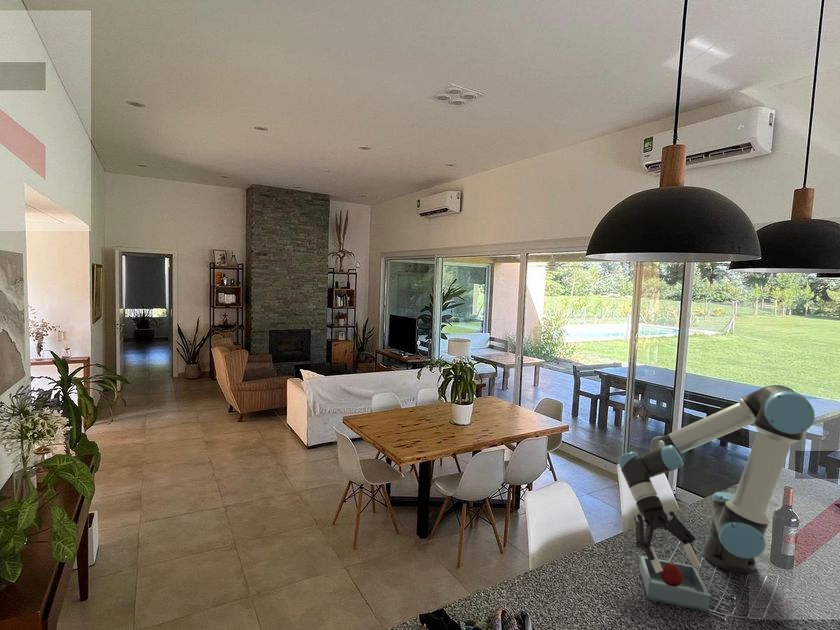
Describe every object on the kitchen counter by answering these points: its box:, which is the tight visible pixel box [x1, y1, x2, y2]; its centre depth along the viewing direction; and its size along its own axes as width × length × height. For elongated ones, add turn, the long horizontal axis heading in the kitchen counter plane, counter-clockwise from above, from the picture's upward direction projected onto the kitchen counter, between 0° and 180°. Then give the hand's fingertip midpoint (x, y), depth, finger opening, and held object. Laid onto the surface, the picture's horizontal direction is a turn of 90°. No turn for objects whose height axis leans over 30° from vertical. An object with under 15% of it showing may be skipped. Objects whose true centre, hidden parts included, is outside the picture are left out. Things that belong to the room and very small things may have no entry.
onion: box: [661, 560, 682, 587], centre depth 140 cm, size 6×6×8 cm
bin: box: [638, 555, 711, 613], centre depth 140 cm, size 16×15×5 cm
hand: (678, 569), depth 137 cm, fingers open, 13 cm apart
